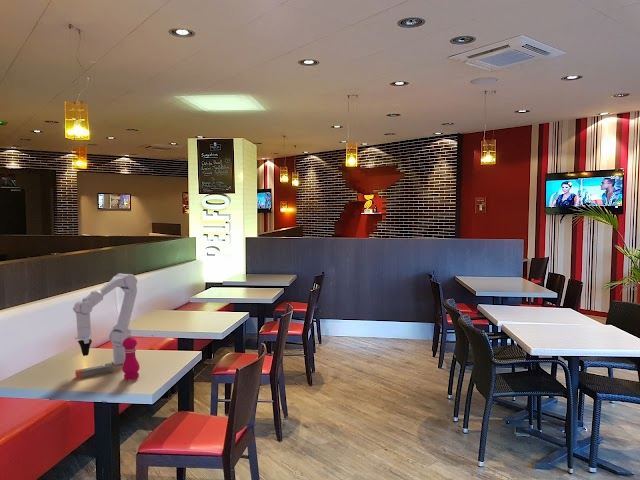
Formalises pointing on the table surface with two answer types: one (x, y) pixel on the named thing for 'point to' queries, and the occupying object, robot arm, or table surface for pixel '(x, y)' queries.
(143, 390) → the table surface
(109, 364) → the tongs body
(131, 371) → the pepper mill
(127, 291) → the robot arm
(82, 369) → the tongs jaw
